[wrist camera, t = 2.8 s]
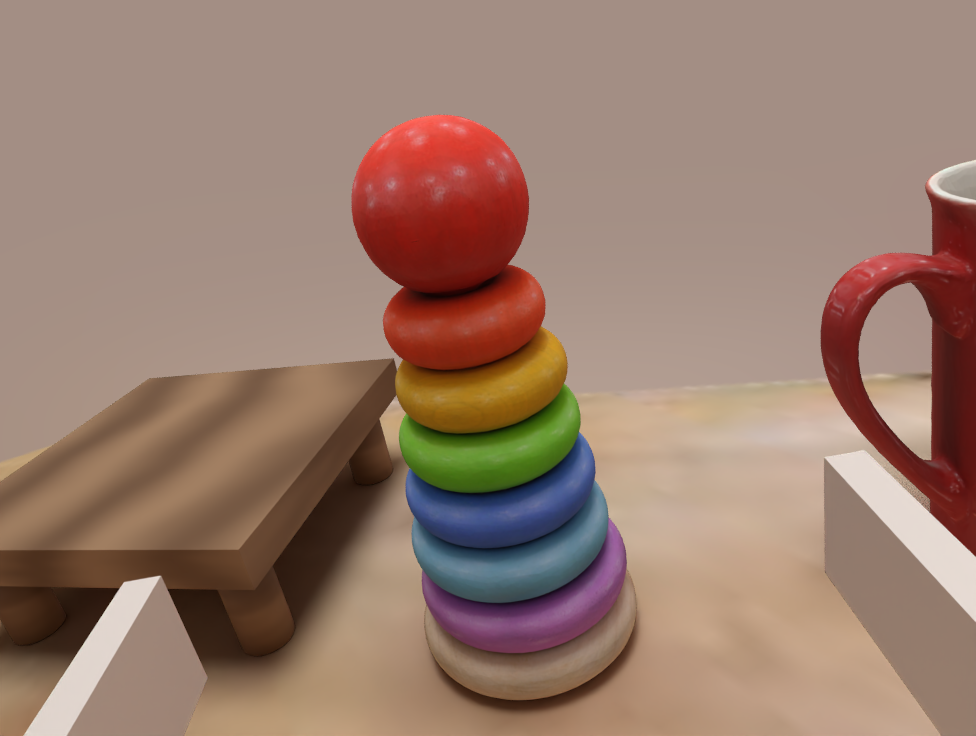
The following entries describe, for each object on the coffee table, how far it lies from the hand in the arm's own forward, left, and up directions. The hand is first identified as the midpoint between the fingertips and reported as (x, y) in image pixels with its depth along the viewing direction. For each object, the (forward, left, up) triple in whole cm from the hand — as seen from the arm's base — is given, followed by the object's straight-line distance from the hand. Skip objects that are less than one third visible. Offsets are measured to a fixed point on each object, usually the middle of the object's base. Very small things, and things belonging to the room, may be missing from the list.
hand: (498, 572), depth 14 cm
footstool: (-20, +15, -11) cm, 27 cm away
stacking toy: (-3, +10, -11) cm, 15 cm away
